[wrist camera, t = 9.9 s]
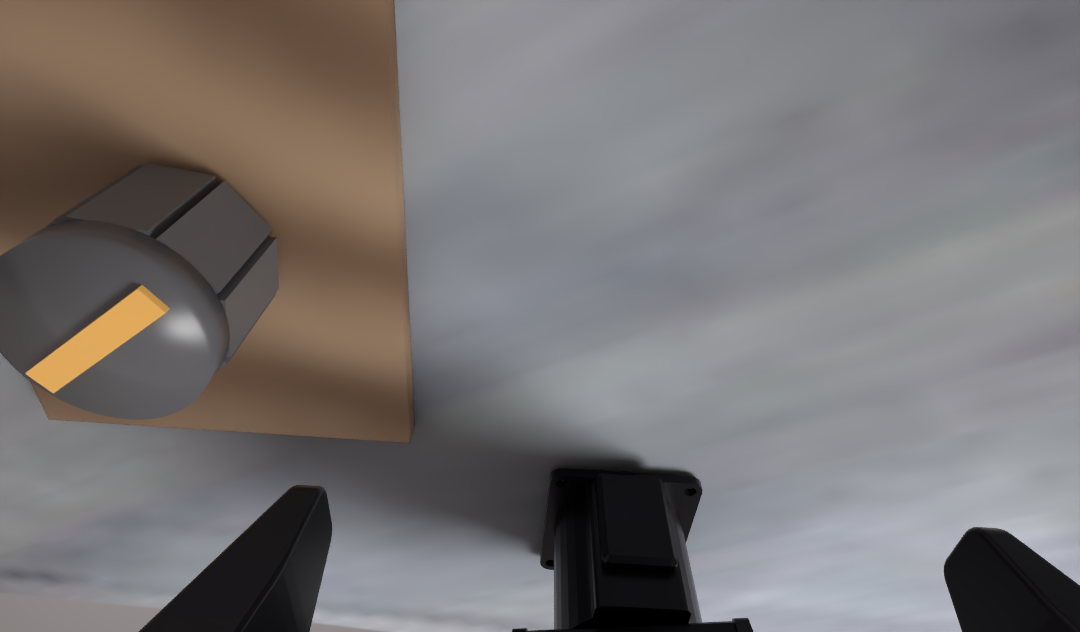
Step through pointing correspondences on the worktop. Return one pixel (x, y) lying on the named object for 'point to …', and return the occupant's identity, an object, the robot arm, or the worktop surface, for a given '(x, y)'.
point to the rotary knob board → (236, 180)
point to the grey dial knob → (137, 293)
